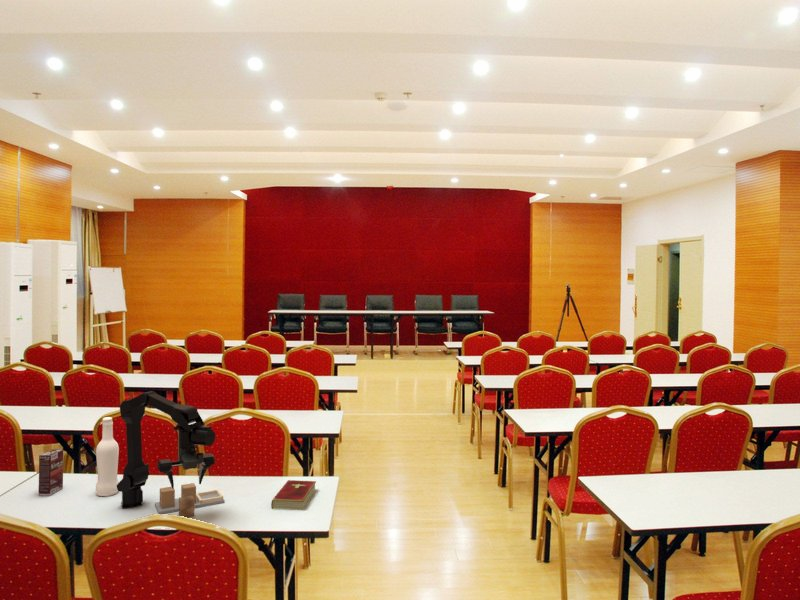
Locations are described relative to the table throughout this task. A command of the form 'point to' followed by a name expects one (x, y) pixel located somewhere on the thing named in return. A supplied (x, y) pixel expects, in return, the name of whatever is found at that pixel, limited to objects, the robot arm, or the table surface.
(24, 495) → the table surface
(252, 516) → the table surface
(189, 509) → the walnut block
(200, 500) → the holder
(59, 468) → the supplement box
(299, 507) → the hardcover book
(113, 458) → the bottle
